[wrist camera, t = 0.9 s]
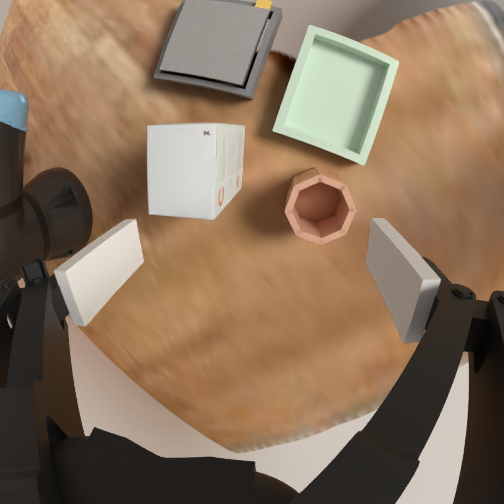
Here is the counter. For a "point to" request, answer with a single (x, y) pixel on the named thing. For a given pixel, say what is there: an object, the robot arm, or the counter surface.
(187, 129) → the small box
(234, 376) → the counter surface
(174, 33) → the grey flat square panel
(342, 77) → the mint green tray
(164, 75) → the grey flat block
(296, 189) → the cup
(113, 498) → the robot arm
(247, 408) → the counter surface
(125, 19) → the counter surface
